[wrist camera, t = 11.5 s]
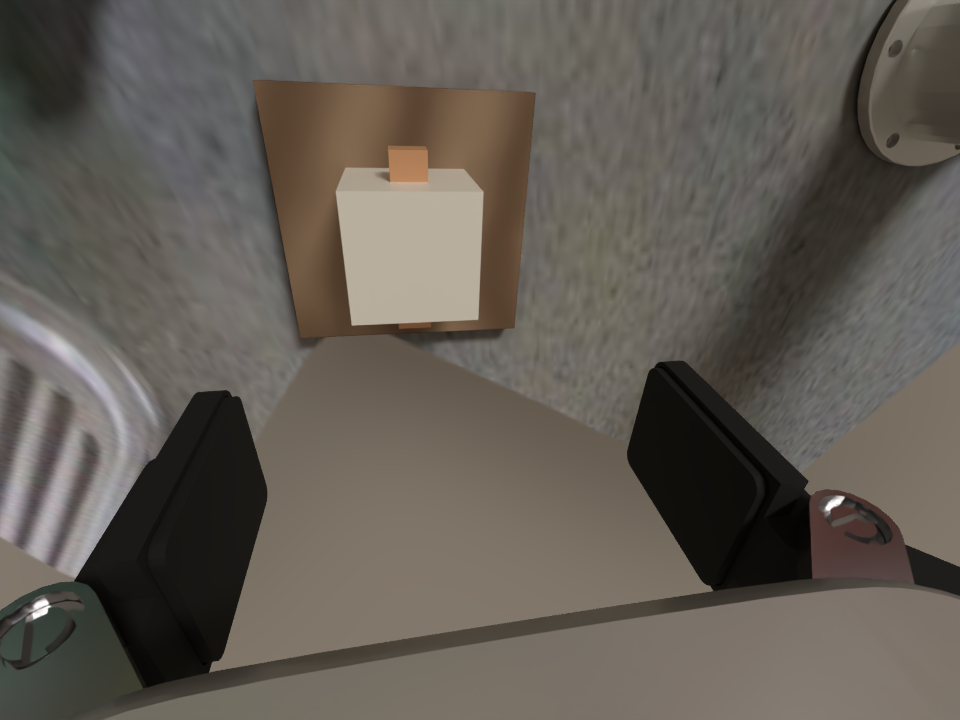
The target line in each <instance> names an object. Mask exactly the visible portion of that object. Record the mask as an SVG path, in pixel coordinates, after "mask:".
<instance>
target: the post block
mask: <svg viewBox="0 0 960 720" xmlns="http://www.w3.org/2000/svg"><path fill="white" fill-rule="evenodd" d="M253 83H254V89H255V94H256V100H257V105H258V111H259V116H260V121H261V127H262V132H263V138H264V143H265V148H266V154H267V159H268V165H269V170H270V176H271V181H272V186H273V192H274V197H275V203H276V208H277V213H278V219H279V224H280V230H281V235H282V240H283V246H284V251H285V257H286V262H287V268H288V273H289V278H290V284H291V289H292V295H293V300H294V305H295V311H296V316H297V322H298V327H299V333H300V338H313V337H333V336H334V337H335V336H355V335H375V334H376V335H377V334H400V333H421V332H443V331H464V330H486V329H507V328H514V326H515V315H516V304H517V293H518V282H519V271H520V260H521V249H522V238H523V227H524V216H525V205H526V194H527V183H528V172H529V160H530V149H531V138H532V127H533V116H534V105H535V94H536V93H531V92H514V91H492V90H470V89H448V88H426V87H403V86H381V85H359V84H337V83H315V82H293V81H270V80H253ZM388 146H425V147H426V148H427V150H428V169H464V170H465V171H466V172H467V173H468V174H469V175H470V177H471V178H472V179H473V180H474V181H475V182H476V184H477V185H478V186H479V187H480V188H481V189H482V191H483V192H484V193H483V217H482V242H481V266H480V291H479V315H478V320H463V321H441V322H431V327H427V328H406V329H399V323H397V324H375V325H353V326H352V323H351V315H350V306H349V298H348V290H347V281H346V273H345V265H344V256H343V248H342V240H341V231H340V223H339V215H338V207H337V198H336V189H337V187H338V184H339V182H340V180H341V177H342V175H343V172H344V170H345V168H389V156H388Z"/></svg>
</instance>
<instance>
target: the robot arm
mask: <svg viewBox="0 0 960 720" xmlns="http://www.w3.org/2000/svg"><path fill="white" fill-rule="evenodd" d="M858 122H859V126H860V131H861V135H862V137H863V139H864V141H865V143H866V145H867V147H868V148H869V149H870V150H871V151H872V152H873V153H874V154H875V155H876V156H877V157H879V158H881V159H883V160H885V161H887V162H889V163H894V164H899V165H904V166H925V165H930V164H934V163H938V162H941V161H943V160H946V159H948V158H951V157H953V156H955V155H957V154H959V153H960V0H897V1H896V2H895V4H894V5H893V6H892V8H891V10H890V12H889V13H888V15H887V17H886V19H885V20H884V22H883V24H882V26H881V27H880V29H879V31H878V33H877V35H876V38H875V40H874V42H873V45H872V47H871V49H870V51H869V54H868V56H867V60H866V63H865V66H864V70H863V73H862V76H861V81H860V88H859V94H858ZM627 458H628V462H629V464H630V466H631V468H632V470H633V471H634V473H635V474H636V476H637V478H638V479H639V481H640V482H641V484H642V486H643V487H644V489H645V490H646V492H647V494H648V495H649V497H650V499H651V500H652V502H653V503H654V505H655V507H656V508H657V510H658V511H659V513H660V515H661V516H662V518H663V520H664V521H665V523H666V524H667V526H668V527H669V529H670V531H671V533H672V534H673V535H674V537H675V539H676V541H677V542H678V544H679V545H680V547H681V549H682V550H683V552H684V553H685V555H686V557H687V558H688V560H689V562H690V563H691V565H692V566H693V568H694V570H695V571H696V573H697V574H698V576H699V578H700V579H701V580H702V582H703V583H705V584H706V585H710V586H711V588H712V589H713V591H712V592H706V593H699V594H692V595H686V596H679V597H673V598H666V599H659V600H652V601H646V602H639V603H633V604H626V605H619V606H613V607H606V608H599V609H593V610H587V611H580V612H574V613H567V614H561V615H554V616H548V617H542V618H535V619H529V620H522V621H516V622H509V623H503V624H497V625H491V626H484V627H477V628H471V629H465V630H458V631H452V632H446V633H440V634H434V635H427V636H421V637H415V638H409V639H402V640H397V641H390V642H384V643H378V644H372V645H365V646H359V647H353V648H347V649H340V650H334V651H328V652H322V653H316V654H310V655H304V656H299V657H293V658H287V659H282V660H276V661H271V662H266V663H259V664H254V665H249V666H243V667H237V668H232V669H226V670H221V671H215V672H210V673H209V671H210V667H211V664H212V662H213V661H219V660H220V659H221V657H222V655H223V653H224V650H225V647H226V644H227V640H228V636H229V633H230V629H231V626H232V622H233V619H234V615H235V612H236V608H237V605H238V601H239V597H240V594H241V590H242V587H243V583H244V580H245V576H246V573H247V569H248V566H249V562H250V559H251V555H252V552H253V548H254V544H255V541H256V537H257V534H258V530H259V527H260V523H261V519H262V516H263V513H264V509H265V506H266V502H267V486H266V482H265V479H264V475H263V472H262V469H261V465H260V462H259V459H258V455H257V452H256V449H255V445H254V442H253V438H252V435H251V432H250V428H249V425H248V421H247V418H246V415H245V411H244V408H243V404H242V401H241V399H240V398H239V397H238V396H235V397H232V395H231V394H230V392H229V391H227V390H223V391H207V392H198V393H196V394H195V395H194V396H193V398H192V399H191V401H190V403H189V404H188V406H187V407H186V409H185V411H184V412H183V414H182V416H181V417H180V419H179V421H178V422H177V424H176V426H175V427H174V429H173V431H172V432H171V434H170V436H169V437H168V439H167V441H166V442H165V444H164V446H163V447H162V449H161V451H160V452H159V454H158V455H157V457H156V459H153V460H152V461H150V462H149V463H148V464H147V465H146V466H145V468H144V469H143V471H142V472H141V474H140V475H139V477H138V479H137V480H136V482H135V484H134V485H133V487H132V488H131V490H130V492H129V493H128V495H127V496H126V498H125V500H124V501H123V503H122V505H121V506H120V508H119V509H118V511H117V513H116V514H115V516H114V518H113V519H112V521H111V522H110V524H109V526H108V527H107V529H106V530H105V532H104V534H103V535H102V537H101V539H100V540H99V542H98V543H97V545H96V547H95V548H94V550H93V551H92V553H91V555H90V556H89V558H88V560H87V561H86V563H85V564H84V566H83V568H82V569H81V571H80V572H79V574H78V576H77V577H76V579H75V581H74V582H60V583H56V584H52V585H48V586H45V587H42V588H39V589H37V590H35V591H33V592H31V593H28V594H26V595H24V596H22V597H20V598H18V599H17V600H15V601H14V602H12V603H11V604H9V605H8V606H6V607H5V608H3V609H1V611H0V720H960V567H958V566H956V565H953V564H951V563H949V562H946V561H944V560H941V559H939V558H937V557H934V556H932V555H929V554H927V553H924V552H922V551H920V550H917V549H915V548H912V547H910V546H907V545H905V543H904V539H903V536H902V534H901V531H900V529H899V527H898V526H897V525H896V524H895V522H894V521H893V520H892V519H891V518H890V517H889V516H888V515H887V514H886V513H884V512H883V511H882V510H881V509H879V508H878V507H877V506H875V505H873V504H871V503H870V502H868V501H866V500H864V499H862V498H860V497H857V496H855V495H853V494H850V493H846V492H843V491H839V490H829V489H825V490H821V491H816V492H815V493H814V494H813V495H811V496H810V495H809V494H808V493H807V492H806V491H805V490H804V488H805V487H806V485H807V483H808V480H807V479H806V478H805V477H804V476H803V475H802V474H801V473H800V472H799V471H798V470H797V469H796V468H795V467H793V466H792V465H791V464H790V463H789V462H788V461H787V460H786V459H785V458H784V457H783V456H782V455H781V454H780V453H779V452H778V451H777V450H776V449H775V448H774V447H773V446H772V445H771V444H770V443H769V442H768V441H767V440H766V439H765V438H763V437H762V436H761V435H760V434H759V433H758V432H757V431H756V430H755V429H754V428H753V427H752V426H751V425H750V424H749V423H748V422H747V421H746V420H745V419H744V418H743V417H742V416H741V415H740V414H739V413H738V412H737V411H736V410H734V409H733V408H732V407H731V406H730V405H729V404H728V403H727V402H726V401H725V400H724V399H723V398H722V397H721V396H720V395H719V394H718V393H717V392H716V391H715V390H714V389H713V388H712V387H711V386H710V385H709V384H708V383H707V382H706V381H704V380H703V379H702V378H701V377H700V376H699V375H698V374H697V373H696V372H695V371H694V370H693V369H692V368H691V367H690V366H689V365H688V364H687V363H686V362H684V361H668V362H659V363H657V364H656V366H655V368H653V369H651V370H650V371H649V373H648V376H647V380H646V384H645V387H644V391H643V395H642V398H641V402H640V406H639V409H638V413H637V417H636V420H635V424H634V428H633V431H632V435H631V439H630V443H629V446H628V450H627Z"/></svg>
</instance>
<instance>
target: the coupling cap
mask: <svg viewBox="0 0 960 720" xmlns="http://www.w3.org/2000/svg"><path fill="white" fill-rule="evenodd" d="M388 156H389V168H345V170H344V172H343V175H342V177H341V180H340V182H339V184H338V187H337V189H336V198H337V207H338V215H339V223H340V231H341V240H342V248H343V256H344V265H345V273H346V281H347V290H348V298H349V306H350V315H351V323H352V326H353V325H375V324H397V323H399V329H406V328H427V327H431V322H441V321H463V320H478V315H479V291H480V266H481V242H482V217H483V193H484V192H483V191H482V189H481V188H480V187H479V186H478V185H477V184H476V182H475V181H474V180H473V179H472V178H471V177H470V175H469V174H468V173H467V172H466V171H465V170H464V169H428V150H427V148H426V147H425V146H388Z"/></svg>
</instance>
